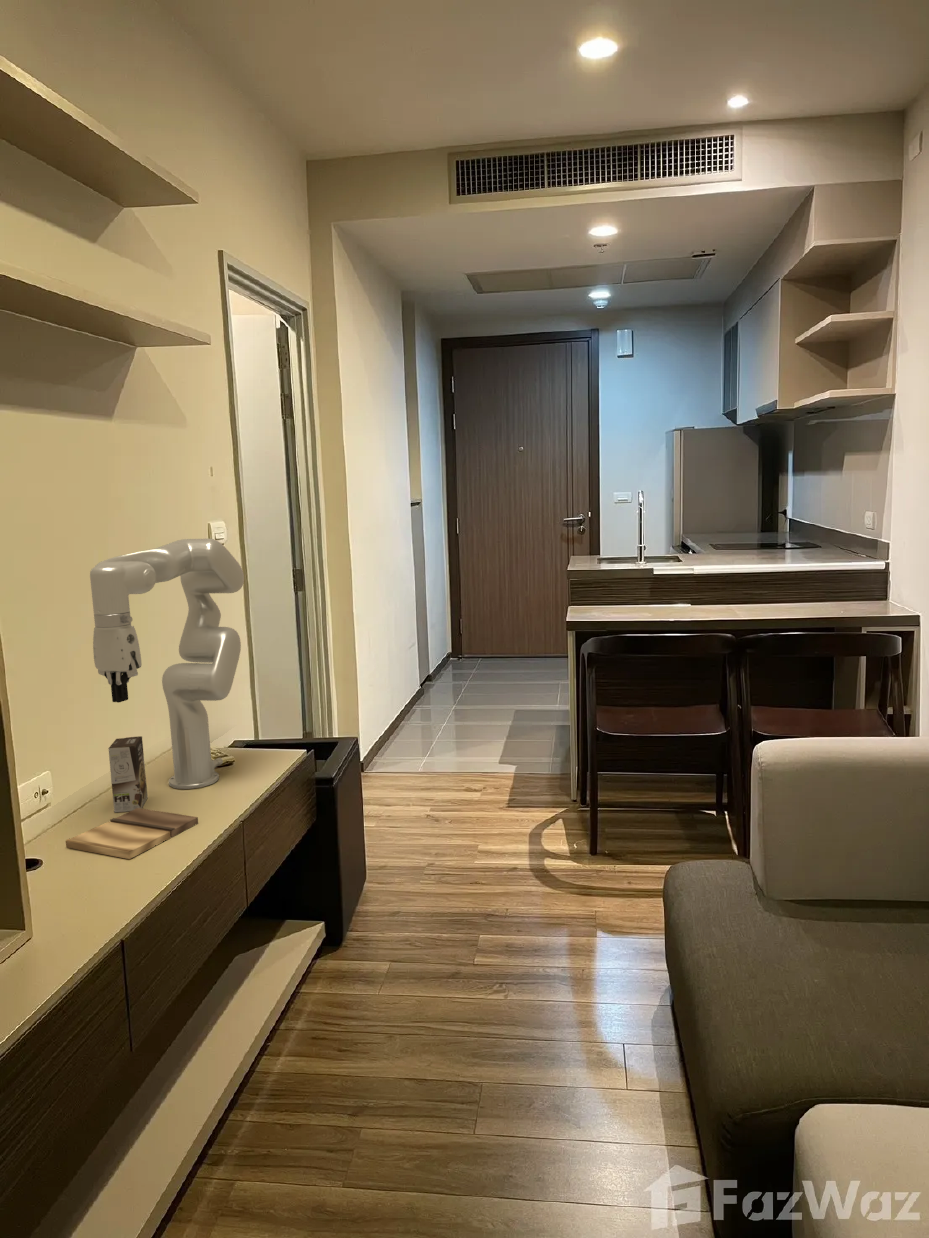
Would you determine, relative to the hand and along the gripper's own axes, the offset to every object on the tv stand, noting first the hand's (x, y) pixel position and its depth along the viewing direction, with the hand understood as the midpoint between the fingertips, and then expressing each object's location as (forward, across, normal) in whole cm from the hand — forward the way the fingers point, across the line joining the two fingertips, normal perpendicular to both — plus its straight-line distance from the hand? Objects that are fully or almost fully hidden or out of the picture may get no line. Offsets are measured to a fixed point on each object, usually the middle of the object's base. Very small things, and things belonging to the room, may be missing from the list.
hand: (120, 700), depth 198 cm
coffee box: (+29, +9, -9) cm, 32 cm away
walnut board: (+29, -6, -1) cm, 30 cm away
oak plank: (+29, -6, +10) cm, 31 cm away
